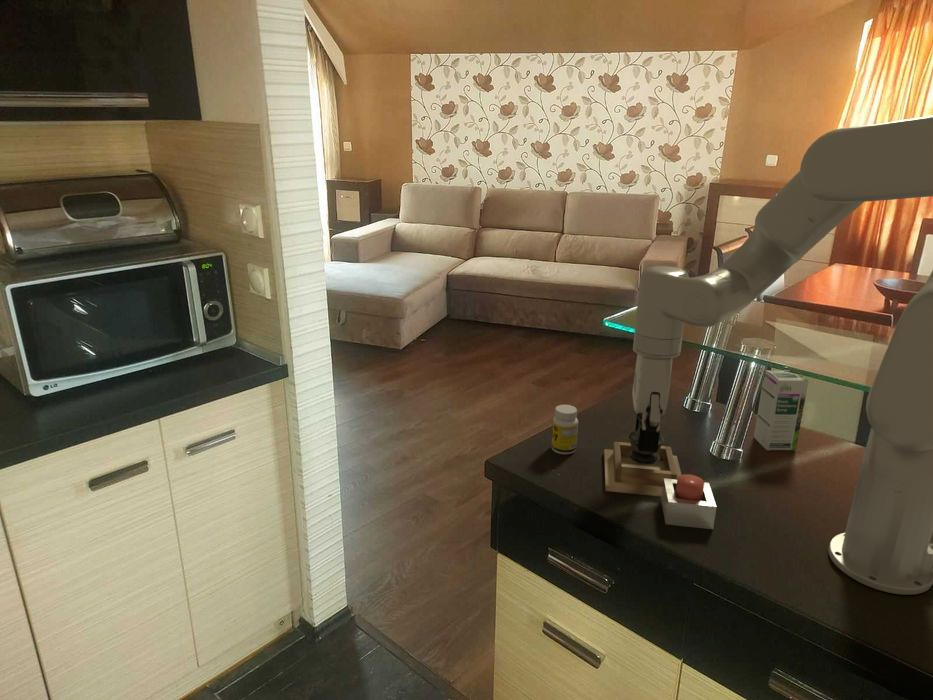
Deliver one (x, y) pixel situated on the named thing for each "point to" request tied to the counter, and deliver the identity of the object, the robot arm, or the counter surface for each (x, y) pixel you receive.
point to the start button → (689, 487)
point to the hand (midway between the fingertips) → (645, 440)
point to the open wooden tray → (638, 471)
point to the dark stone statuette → (643, 456)
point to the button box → (688, 507)
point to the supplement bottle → (564, 430)
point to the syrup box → (780, 410)
